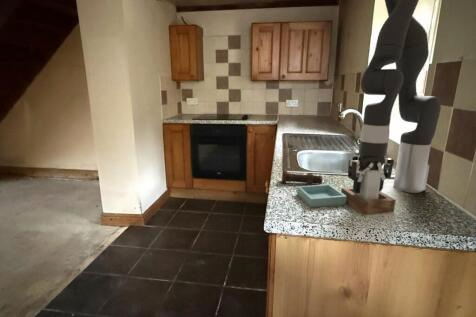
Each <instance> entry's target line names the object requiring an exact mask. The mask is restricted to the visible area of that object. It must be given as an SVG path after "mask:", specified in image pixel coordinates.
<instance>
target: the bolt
mask: <svg viewBox="0 0 476 317" xmlns="http://www.w3.org/2000/svg"><path fill="white" fill-rule="evenodd" d="M281 173H282V174H281V184H282V185H286V183H292V182H293V183H302V184H303V183H304V184H306V186H311V185H314V184H315V185H323V176H322V175H314V174H313V173H312V172H308V173H307V174H300V173H298V174H297V173H290V172H288V170H287V169H282V172H281Z"/></svg>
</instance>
